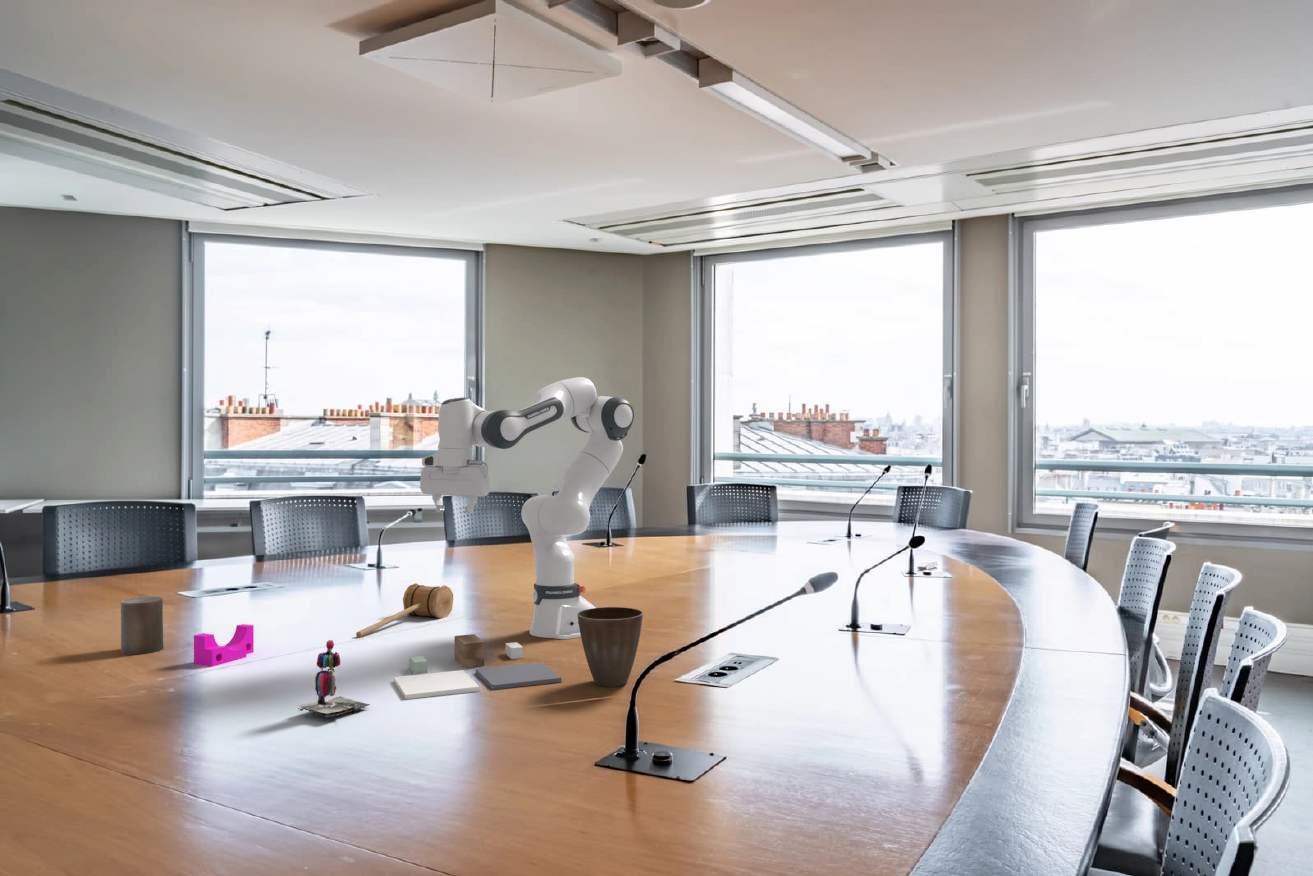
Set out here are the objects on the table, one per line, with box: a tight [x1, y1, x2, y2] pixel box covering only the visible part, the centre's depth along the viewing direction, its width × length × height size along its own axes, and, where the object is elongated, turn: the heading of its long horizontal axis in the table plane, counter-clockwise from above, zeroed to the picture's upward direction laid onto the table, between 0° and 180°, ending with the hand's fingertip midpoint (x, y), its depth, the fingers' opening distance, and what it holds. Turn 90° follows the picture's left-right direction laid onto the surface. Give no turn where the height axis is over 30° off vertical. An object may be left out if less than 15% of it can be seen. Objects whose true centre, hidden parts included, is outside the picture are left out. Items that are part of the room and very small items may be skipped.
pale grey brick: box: [505, 641, 524, 660], centre depth 244 cm, size 6×3×3 cm, turn 23°
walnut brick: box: [454, 633, 485, 669], centre depth 237 cm, size 5×10×6 cm, turn 25°
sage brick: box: [408, 655, 428, 675], centre depth 229 cm, size 6×3×3 cm, turn 26°
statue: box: [297, 639, 371, 718], centre depth 195 cm, size 11×9×15 cm
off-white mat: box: [393, 669, 480, 700], centre depth 215 cm, size 16×16×1 cm
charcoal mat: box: [475, 661, 562, 691], centre depth 223 cm, size 16×16×1 cm
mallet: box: [355, 583, 454, 638], centre depth 281 cm, size 12×38×10 cm, turn 158°
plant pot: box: [577, 606, 644, 688], centre depth 218 cm, size 15×15×16 cm
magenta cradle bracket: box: [193, 623, 255, 668], centre depth 240 cm, size 15×6×8 cm, turn 156°
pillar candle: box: [120, 594, 164, 656], centre depth 248 cm, size 10×10×15 cm
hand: (454, 512), depth 249 cm, fingers open, 8 cm apart
